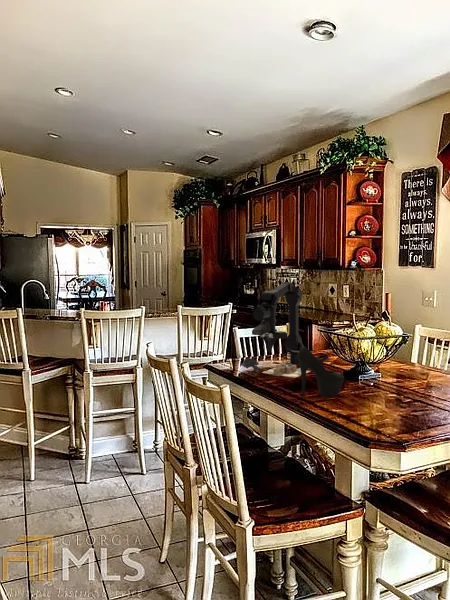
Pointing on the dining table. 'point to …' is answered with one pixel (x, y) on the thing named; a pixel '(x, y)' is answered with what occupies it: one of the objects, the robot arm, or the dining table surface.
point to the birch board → (285, 374)
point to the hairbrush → (251, 363)
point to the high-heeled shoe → (319, 373)
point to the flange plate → (284, 369)
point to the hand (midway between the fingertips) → (269, 351)
